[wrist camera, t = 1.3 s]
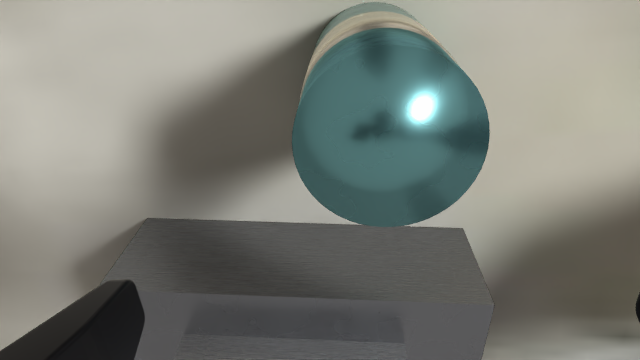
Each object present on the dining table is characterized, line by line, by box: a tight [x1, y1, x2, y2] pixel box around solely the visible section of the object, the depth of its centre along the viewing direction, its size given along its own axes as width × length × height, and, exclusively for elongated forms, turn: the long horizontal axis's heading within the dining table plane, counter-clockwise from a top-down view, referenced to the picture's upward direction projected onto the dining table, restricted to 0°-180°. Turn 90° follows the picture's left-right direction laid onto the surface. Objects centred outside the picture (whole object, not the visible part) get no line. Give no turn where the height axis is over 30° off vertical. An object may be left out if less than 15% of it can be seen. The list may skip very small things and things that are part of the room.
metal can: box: [292, 2, 490, 227], centre depth 15 cm, size 5×5×8 cm
